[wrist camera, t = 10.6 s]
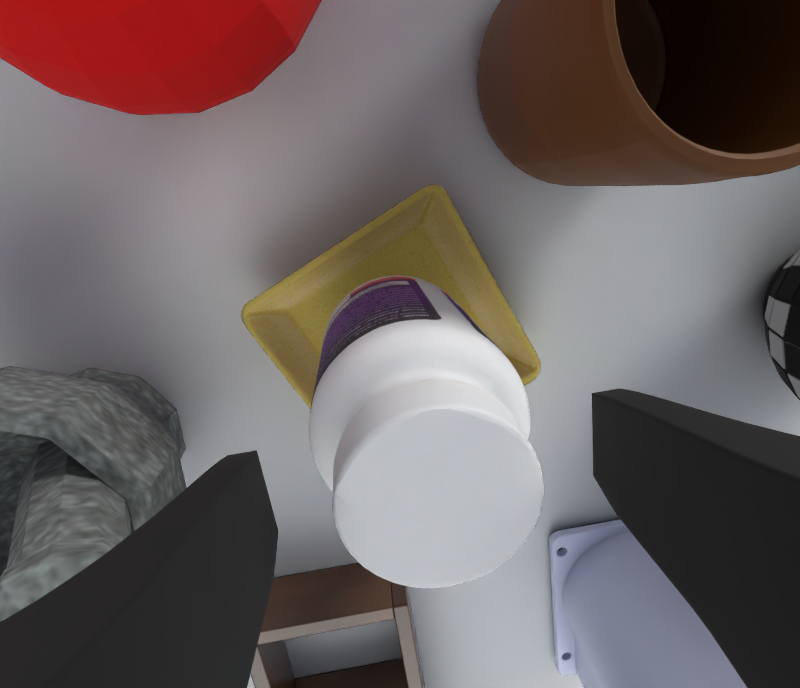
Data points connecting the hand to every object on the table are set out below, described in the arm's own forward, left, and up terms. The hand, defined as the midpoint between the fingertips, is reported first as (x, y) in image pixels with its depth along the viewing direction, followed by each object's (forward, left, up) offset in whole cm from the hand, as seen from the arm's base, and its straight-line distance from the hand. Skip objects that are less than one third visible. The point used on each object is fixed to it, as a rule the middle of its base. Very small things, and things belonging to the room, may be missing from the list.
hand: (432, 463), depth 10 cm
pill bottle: (0, 0, -8) cm, 9 cm away
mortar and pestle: (-2, +12, -11) cm, 16 cm away
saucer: (0, 0, -11) cm, 11 cm away
